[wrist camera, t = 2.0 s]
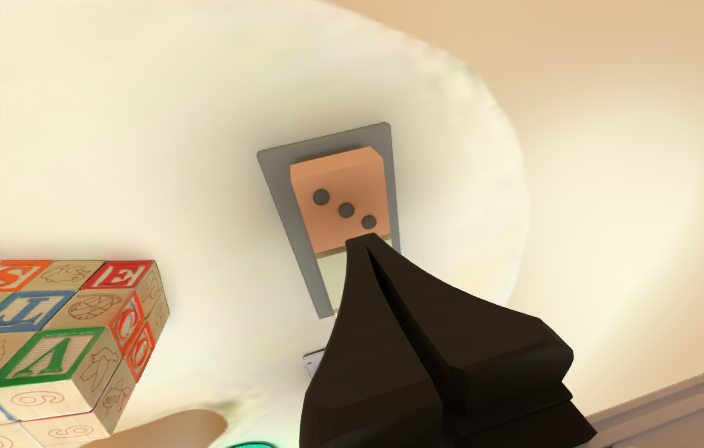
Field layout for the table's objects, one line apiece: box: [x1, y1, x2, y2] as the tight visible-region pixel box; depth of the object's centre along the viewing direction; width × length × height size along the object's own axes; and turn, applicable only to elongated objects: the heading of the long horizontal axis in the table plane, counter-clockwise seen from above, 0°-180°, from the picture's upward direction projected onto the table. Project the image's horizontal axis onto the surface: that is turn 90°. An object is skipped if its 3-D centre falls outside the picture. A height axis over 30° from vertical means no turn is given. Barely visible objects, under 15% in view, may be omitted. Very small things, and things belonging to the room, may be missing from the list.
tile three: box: [290, 146, 391, 254], centre depth 16 cm, size 5×5×3 cm
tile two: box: [316, 234, 392, 309], centre depth 19 cm, size 5×5×3 cm
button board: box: [257, 122, 401, 319], centre depth 21 cm, size 17×9×3 cm, turn 10°
